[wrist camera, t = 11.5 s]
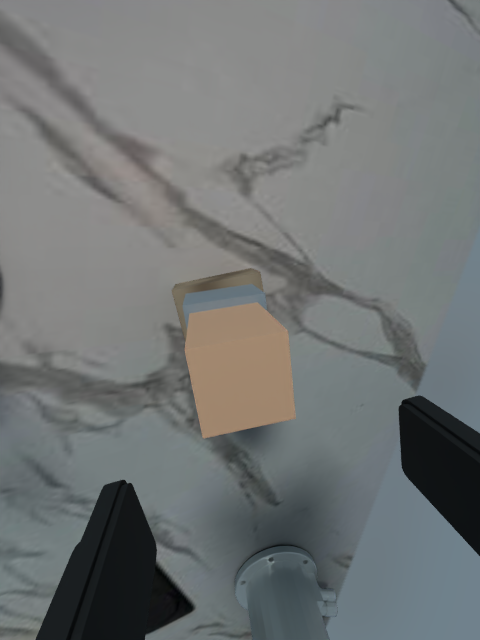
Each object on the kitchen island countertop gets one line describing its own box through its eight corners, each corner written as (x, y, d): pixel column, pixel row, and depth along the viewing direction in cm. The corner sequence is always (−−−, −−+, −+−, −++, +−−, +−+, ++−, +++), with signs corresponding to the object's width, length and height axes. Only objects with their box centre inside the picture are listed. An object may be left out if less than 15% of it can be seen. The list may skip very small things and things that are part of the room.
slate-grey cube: (252, 283, 24) (264, 293, 20) (258, 345, 26) (272, 367, 21) (185, 293, 24) (182, 305, 19) (196, 355, 25) (196, 381, 21)
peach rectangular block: (257, 302, 20) (287, 330, 13) (264, 363, 21) (295, 418, 14) (189, 313, 19) (184, 349, 13) (201, 376, 21) (203, 438, 14)
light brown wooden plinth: (250, 267, 29) (260, 271, 24) (263, 337, 31) (273, 352, 27) (175, 283, 28) (171, 290, 24) (194, 353, 30) (193, 371, 26)
